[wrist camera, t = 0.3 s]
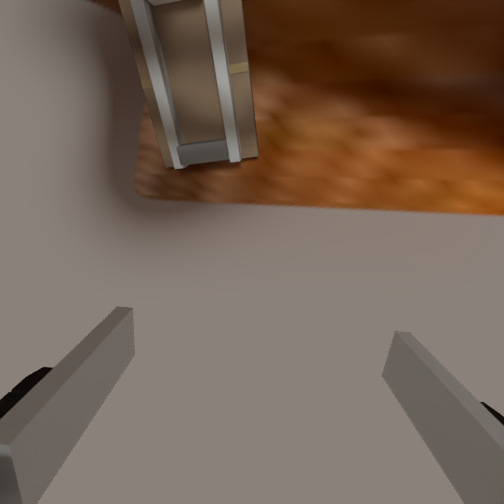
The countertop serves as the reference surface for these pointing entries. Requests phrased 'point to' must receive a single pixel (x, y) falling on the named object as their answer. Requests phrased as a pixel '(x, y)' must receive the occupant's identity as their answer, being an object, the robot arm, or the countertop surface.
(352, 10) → the countertop surface
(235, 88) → the rail base
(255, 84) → the countertop surface
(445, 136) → the countertop surface
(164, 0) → the slider
